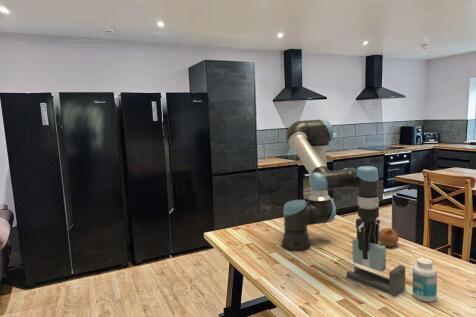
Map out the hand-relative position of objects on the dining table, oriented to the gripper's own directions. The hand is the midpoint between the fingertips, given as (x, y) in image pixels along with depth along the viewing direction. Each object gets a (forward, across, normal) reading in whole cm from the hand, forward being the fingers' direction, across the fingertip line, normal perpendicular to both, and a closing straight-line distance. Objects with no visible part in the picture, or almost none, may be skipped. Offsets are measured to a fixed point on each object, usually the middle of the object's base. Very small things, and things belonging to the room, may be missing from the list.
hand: (369, 264), depth 125 cm
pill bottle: (+7, +3, -19) cm, 20 cm away
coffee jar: (+7, +21, +13) cm, 26 cm away
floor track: (+7, 0, -2) cm, 7 cm away
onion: (+7, +39, +12) cm, 41 cm away
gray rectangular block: (0, 0, 0) cm, 0 cm away
